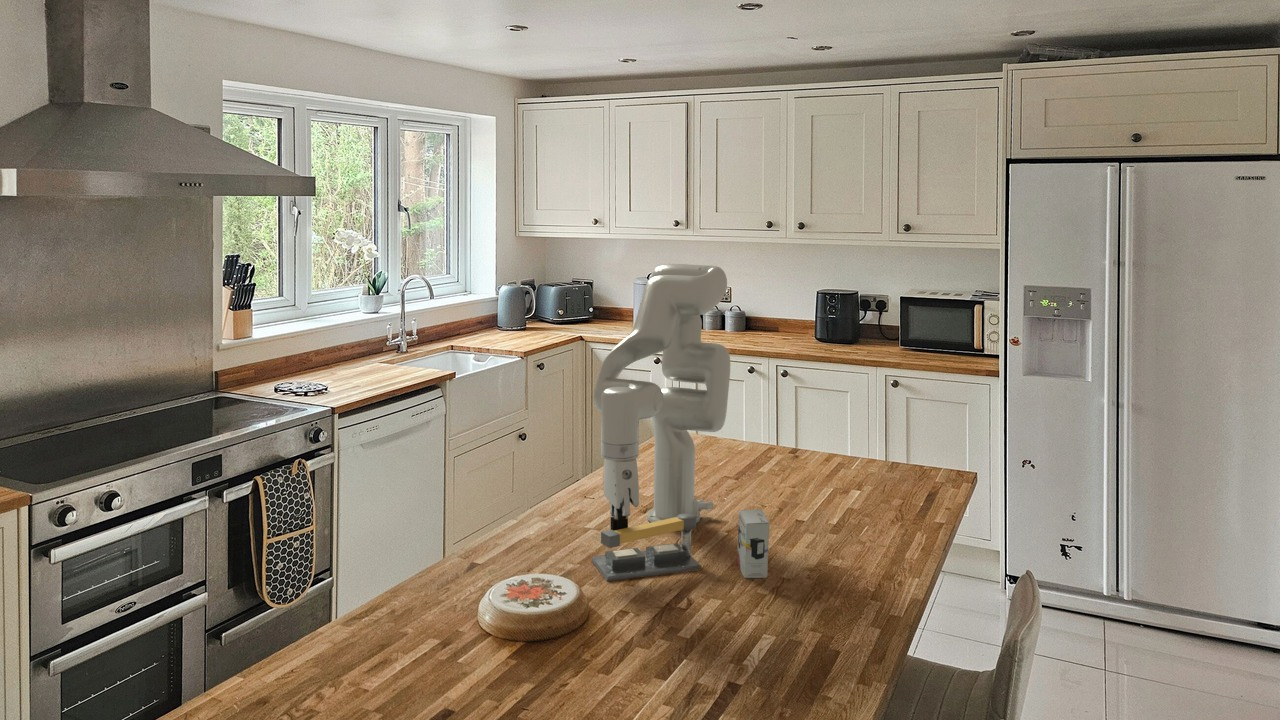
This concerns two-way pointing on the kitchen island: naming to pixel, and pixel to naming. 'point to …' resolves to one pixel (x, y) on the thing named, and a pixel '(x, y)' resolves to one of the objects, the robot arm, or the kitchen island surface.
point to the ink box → (753, 543)
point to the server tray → (647, 560)
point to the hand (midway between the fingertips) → (619, 536)
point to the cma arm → (648, 530)
